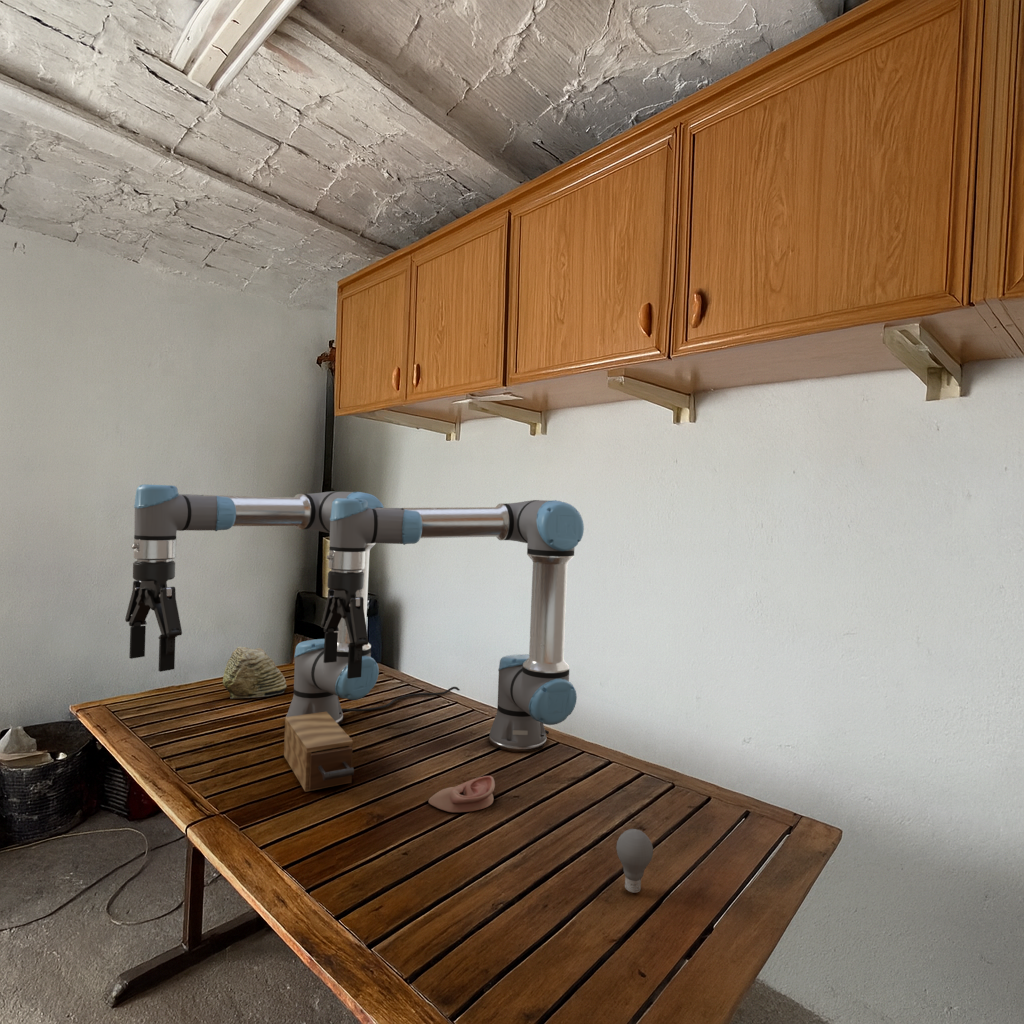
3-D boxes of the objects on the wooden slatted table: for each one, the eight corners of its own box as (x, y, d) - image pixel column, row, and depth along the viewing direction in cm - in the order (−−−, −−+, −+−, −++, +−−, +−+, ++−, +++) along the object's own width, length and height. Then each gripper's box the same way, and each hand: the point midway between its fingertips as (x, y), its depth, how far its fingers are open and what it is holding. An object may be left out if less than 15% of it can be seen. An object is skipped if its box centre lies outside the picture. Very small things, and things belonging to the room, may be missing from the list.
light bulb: (610, 879, 108) (613, 822, 108) (644, 879, 109) (647, 822, 109) (619, 902, 102) (622, 840, 102) (655, 901, 103) (658, 840, 103)
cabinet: (351, 782, 141) (352, 740, 141) (305, 792, 136) (306, 748, 135) (325, 748, 159) (326, 711, 159) (283, 755, 154) (285, 717, 153)
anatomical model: (423, 789, 130) (441, 766, 141) (423, 808, 130) (440, 784, 141) (486, 798, 127) (499, 774, 139) (485, 817, 128) (498, 792, 139)
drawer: (359, 792, 134) (360, 757, 134) (317, 801, 130) (318, 765, 129) (326, 749, 156) (327, 719, 156) (289, 755, 151) (290, 724, 151)
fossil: (218, 695, 195) (220, 647, 195) (278, 685, 208) (279, 640, 207) (228, 703, 189) (230, 653, 188) (289, 692, 201) (290, 645, 201)
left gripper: (109, 555, 134) (106, 655, 134) (163, 567, 119) (159, 679, 119) (147, 554, 140) (144, 649, 140) (203, 565, 124) (199, 672, 125)
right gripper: (309, 564, 143) (304, 657, 143) (352, 578, 123) (347, 687, 123) (341, 563, 147) (336, 654, 148) (388, 577, 127) (383, 682, 128)
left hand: (151, 663), depth 130 cm, fingers open, 13 cm apart
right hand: (341, 669), depth 135 cm, fingers open, 13 cm apart
